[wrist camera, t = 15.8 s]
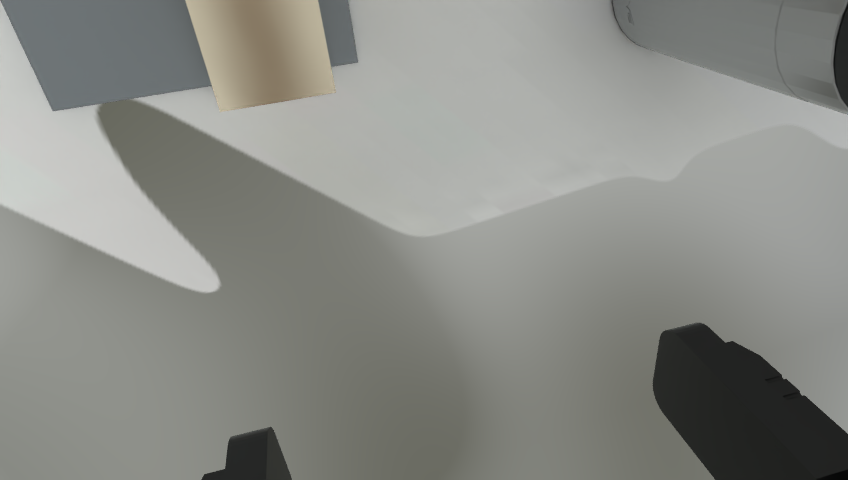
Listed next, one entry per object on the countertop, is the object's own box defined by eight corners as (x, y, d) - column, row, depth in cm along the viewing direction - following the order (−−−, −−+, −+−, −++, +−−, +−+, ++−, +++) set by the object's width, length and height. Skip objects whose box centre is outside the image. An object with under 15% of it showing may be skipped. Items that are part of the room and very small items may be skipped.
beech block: (298, -81, 29) (301, -83, 24) (328, 67, 34) (335, 92, 29) (185, -67, 29) (164, -66, 24) (229, 83, 33) (220, 112, 28)
